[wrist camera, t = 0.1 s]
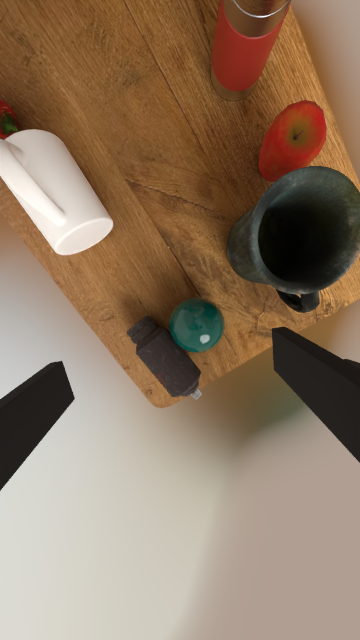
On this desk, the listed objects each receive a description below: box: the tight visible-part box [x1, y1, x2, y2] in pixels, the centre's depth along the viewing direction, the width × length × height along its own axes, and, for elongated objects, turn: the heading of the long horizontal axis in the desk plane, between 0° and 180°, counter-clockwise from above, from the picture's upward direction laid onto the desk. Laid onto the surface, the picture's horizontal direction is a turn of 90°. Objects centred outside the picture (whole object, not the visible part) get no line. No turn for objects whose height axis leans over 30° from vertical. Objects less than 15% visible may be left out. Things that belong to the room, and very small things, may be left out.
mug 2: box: [227, 166, 360, 313], centre depth 25 cm, size 11×15×12 cm
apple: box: [259, 100, 326, 181], centre depth 24 cm, size 6×6×8 cm
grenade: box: [127, 316, 202, 400], centre depth 32 cm, size 8×6×15 cm
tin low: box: [210, 0, 291, 101], centre depth 21 cm, size 6×6×9 cm
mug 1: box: [0, 129, 113, 255], centre depth 23 cm, size 8×10×12 cm
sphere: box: [169, 297, 225, 353], centre depth 29 cm, size 8×8×8 cm
